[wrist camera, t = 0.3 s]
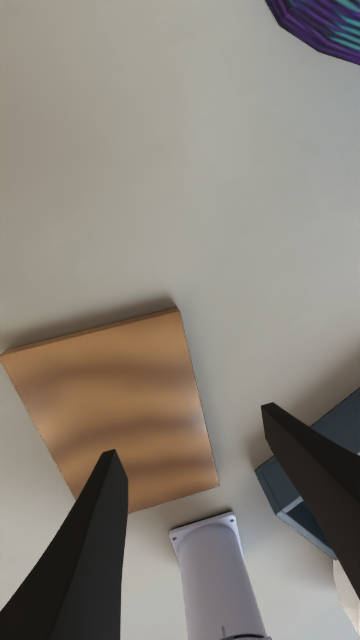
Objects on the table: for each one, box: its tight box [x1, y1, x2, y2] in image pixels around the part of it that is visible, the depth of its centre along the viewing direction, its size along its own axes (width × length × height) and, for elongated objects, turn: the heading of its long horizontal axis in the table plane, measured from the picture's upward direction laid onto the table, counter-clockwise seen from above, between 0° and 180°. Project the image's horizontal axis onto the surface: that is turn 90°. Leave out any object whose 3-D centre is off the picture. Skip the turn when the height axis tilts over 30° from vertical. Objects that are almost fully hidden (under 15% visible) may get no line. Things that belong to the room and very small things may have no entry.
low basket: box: [254, 388, 360, 561], centre depth 25 cm, size 18×13×5 cm
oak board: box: [0, 307, 220, 514], centre depth 22 cm, size 20×14×1 cm
